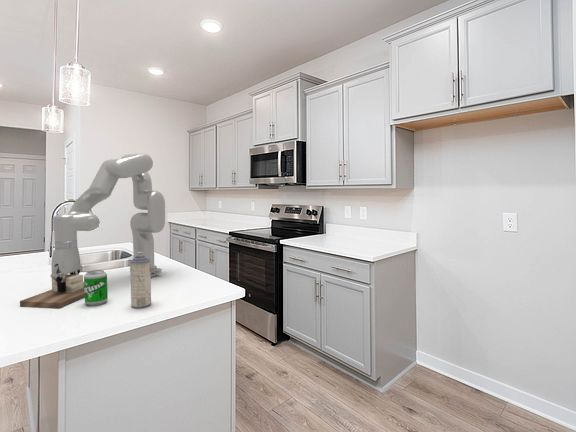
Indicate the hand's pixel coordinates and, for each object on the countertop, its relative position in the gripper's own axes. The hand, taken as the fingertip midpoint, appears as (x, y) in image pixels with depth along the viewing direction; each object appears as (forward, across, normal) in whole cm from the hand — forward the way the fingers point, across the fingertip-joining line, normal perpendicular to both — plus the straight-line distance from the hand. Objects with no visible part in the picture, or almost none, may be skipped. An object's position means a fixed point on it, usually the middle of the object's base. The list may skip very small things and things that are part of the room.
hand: (68, 289), depth 132 cm
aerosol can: (+3, +6, +35) cm, 36 cm away
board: (+3, +2, 0) cm, 4 cm away
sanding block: (+1, 0, 0) cm, 1 cm away
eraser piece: (+1, -6, 0) cm, 6 cm away
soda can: (+3, +6, +17) cm, 18 cm away
